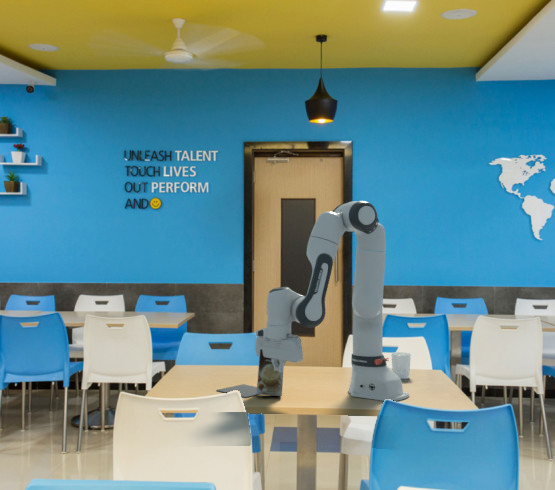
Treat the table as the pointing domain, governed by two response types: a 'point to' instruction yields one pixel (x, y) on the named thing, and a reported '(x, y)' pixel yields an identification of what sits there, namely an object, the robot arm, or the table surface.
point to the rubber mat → (242, 390)
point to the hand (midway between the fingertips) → (278, 371)
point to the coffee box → (268, 378)
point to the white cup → (401, 364)
